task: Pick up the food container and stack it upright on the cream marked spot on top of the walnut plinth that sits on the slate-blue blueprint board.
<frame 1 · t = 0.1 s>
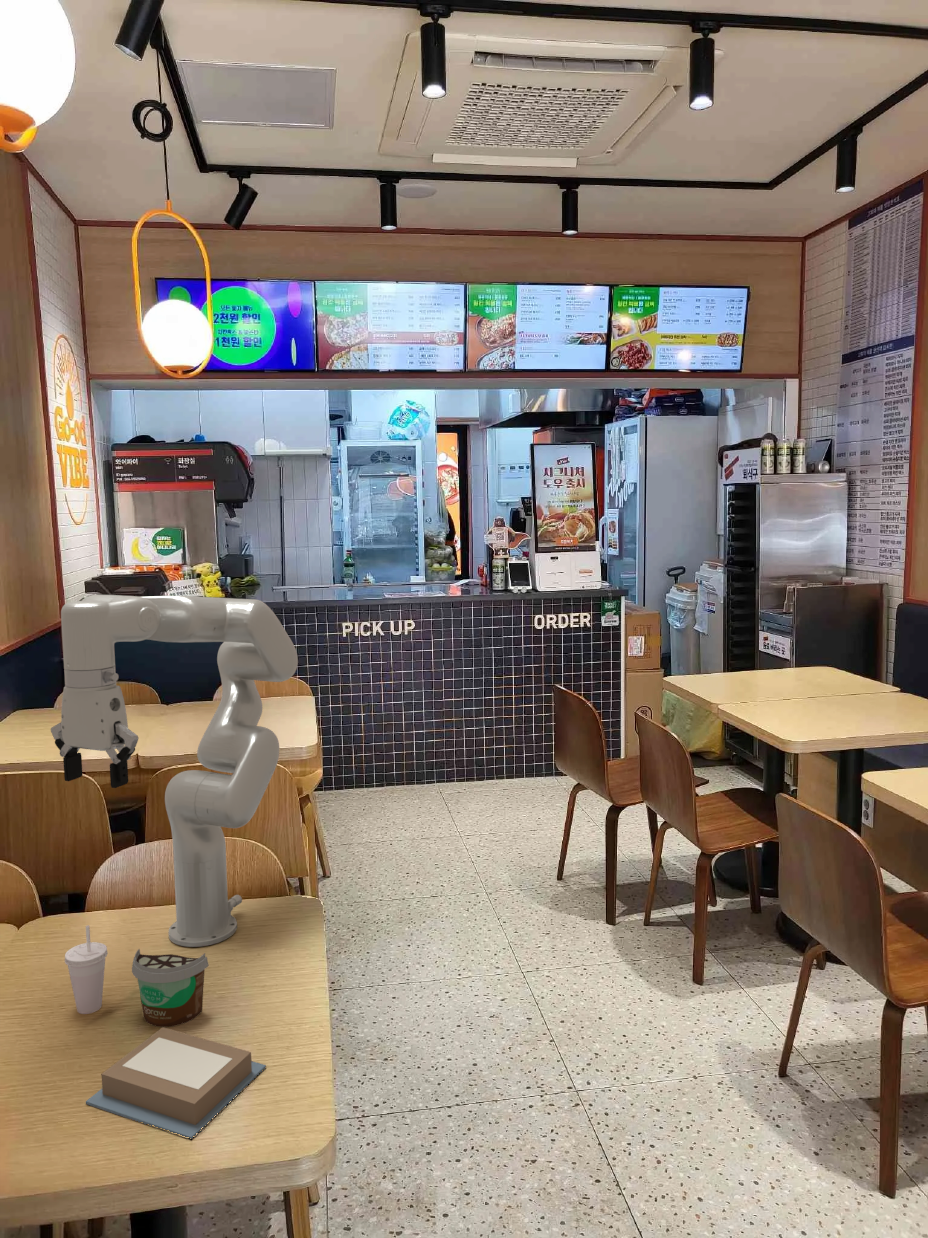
hand: (96, 782, 142), 37 cm above the table, tool pointing down, fingers open, 9 cm apart
smoothie: (89, 1008, 143), on the table
food container: (165, 1021, 140), on the table
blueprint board: (178, 1085, 124), on the table
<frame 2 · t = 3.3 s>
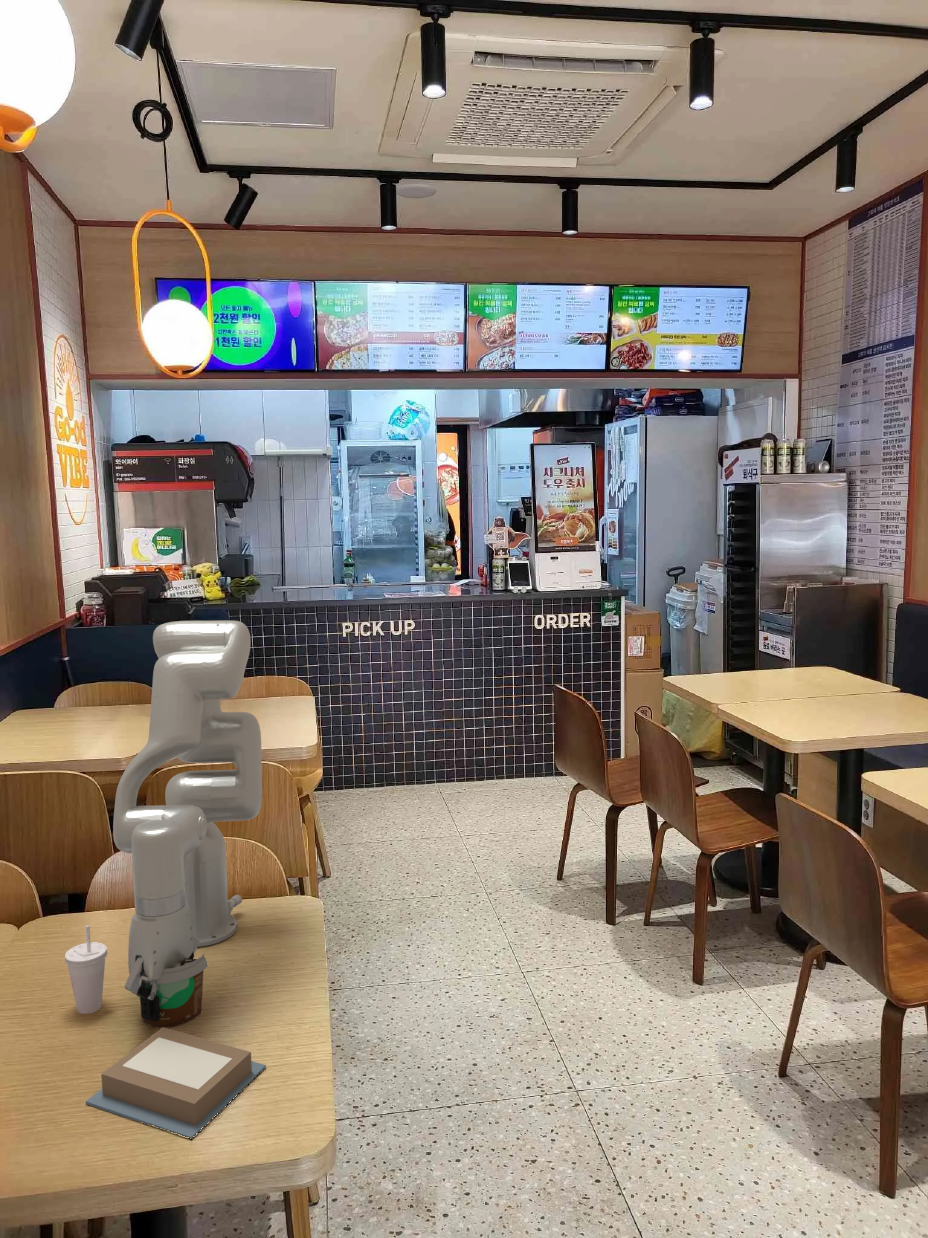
hand: (165, 1007, 140), 2 cm above the table, tool pointing down, fingers open, 6 cm apart
food container: (164, 1022, 139), on the table, touching gripper
everything else where it was.
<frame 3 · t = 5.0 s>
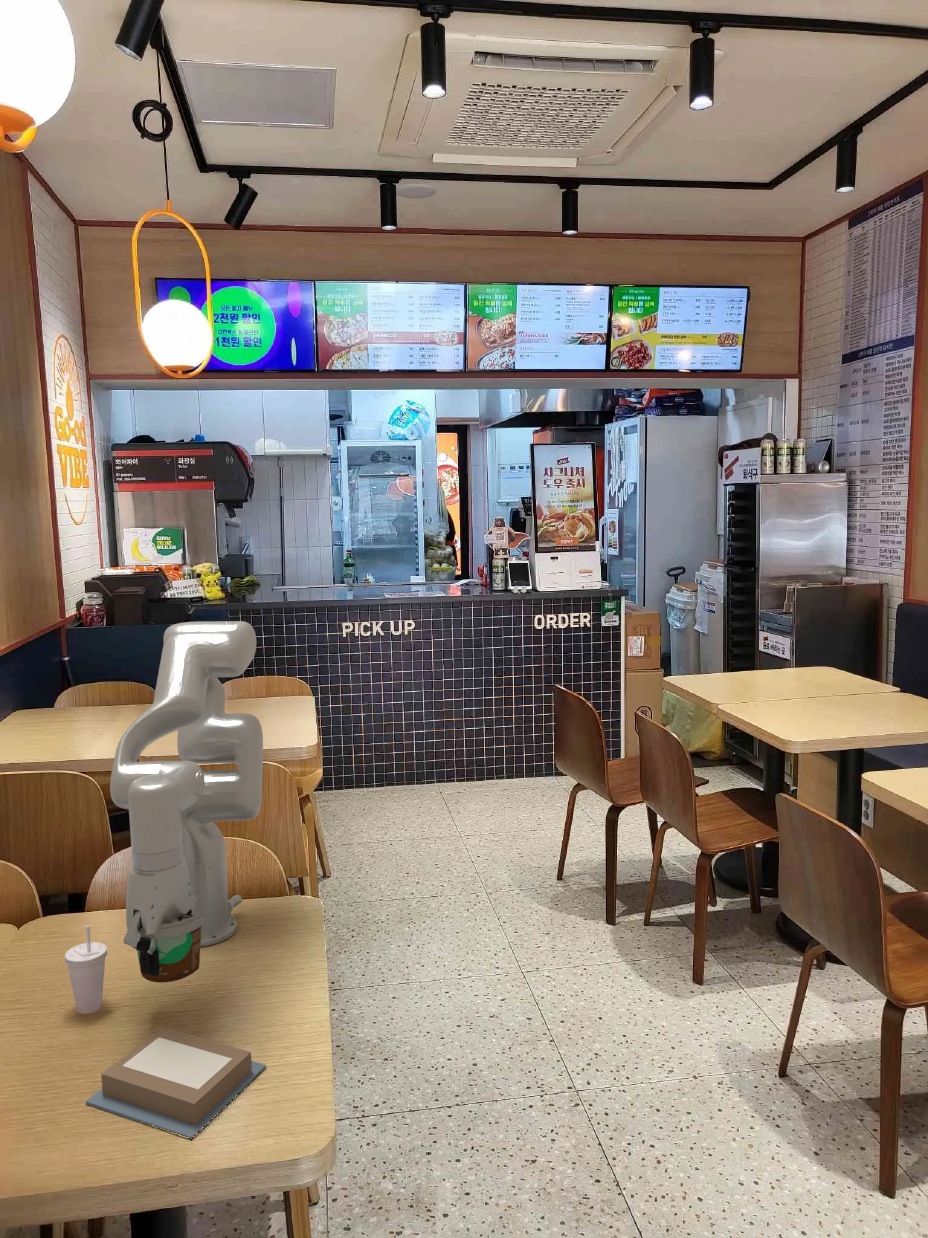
hand: (164, 962, 139), 9 cm above the table, tool pointing down, fingers closed on food container, 5 cm apart
food container: (162, 977, 139), point 7 cm above the table, touching gripper
everything else where it was.
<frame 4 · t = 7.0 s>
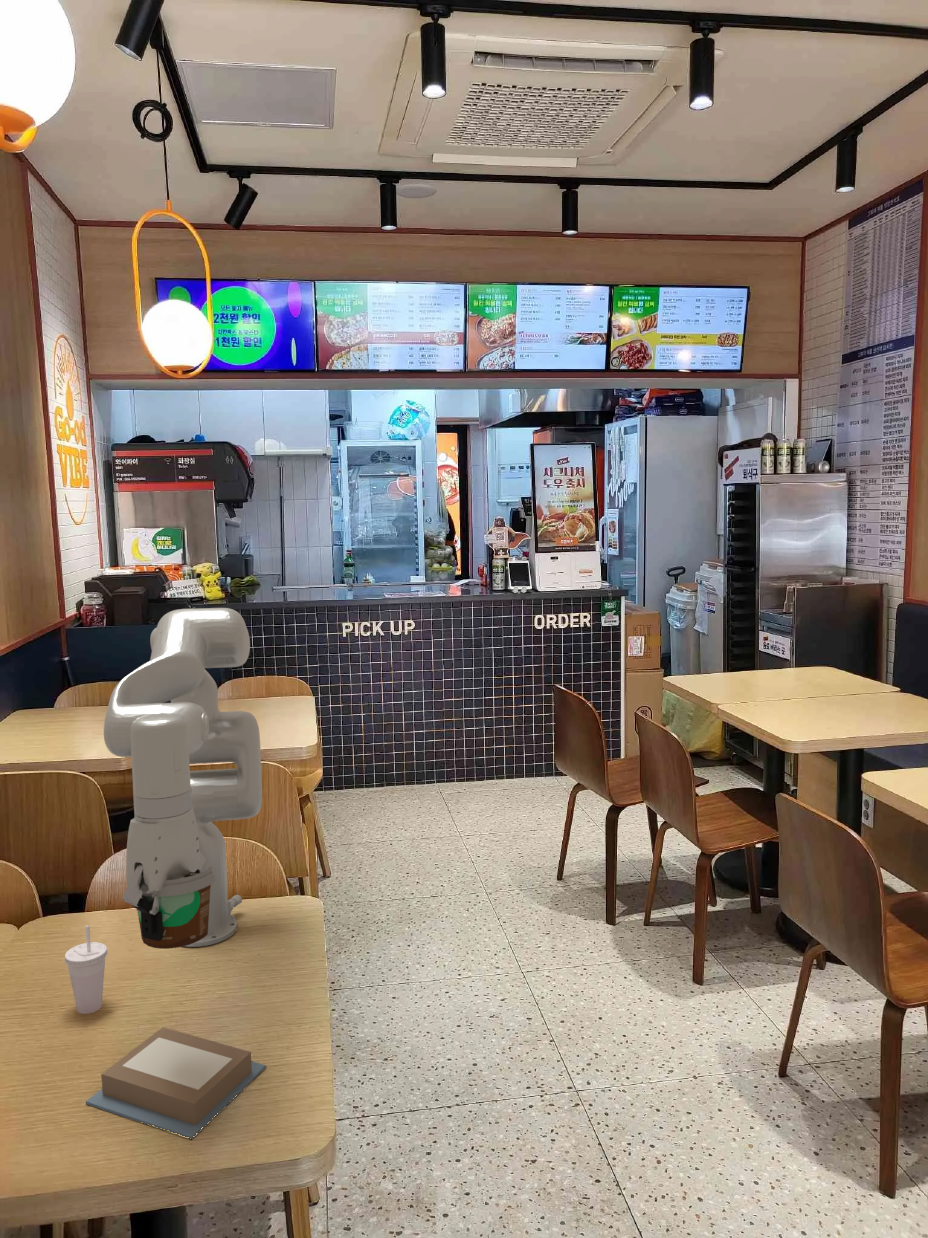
hand: (168, 927, 124), 22 cm above the table, tool pointing down, fingers closed on food container, 5 cm apart
food container: (166, 943, 123), point 20 cm above the table, touching gripper
everything else where it was.
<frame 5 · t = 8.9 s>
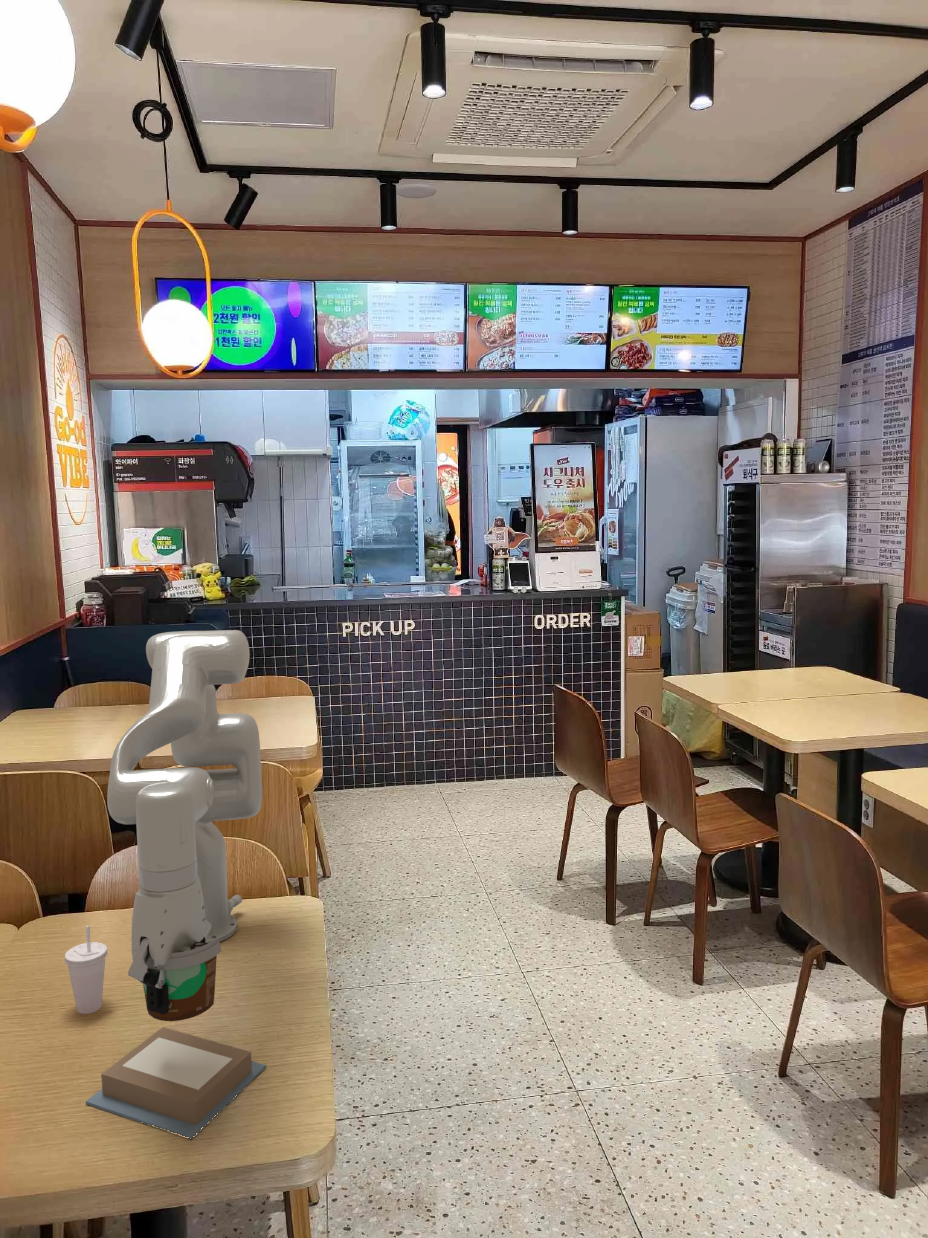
hand: (174, 998, 122), 13 cm above the table, tool pointing down, fingers closed on food container, 5 cm apart
food container: (172, 1015, 121), point 11 cm above the table, touching gripper
everything else where it was.
when the fingers open (7 cm above the table, at t = 10.5 s): food container drops 1 cm, resting on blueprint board.
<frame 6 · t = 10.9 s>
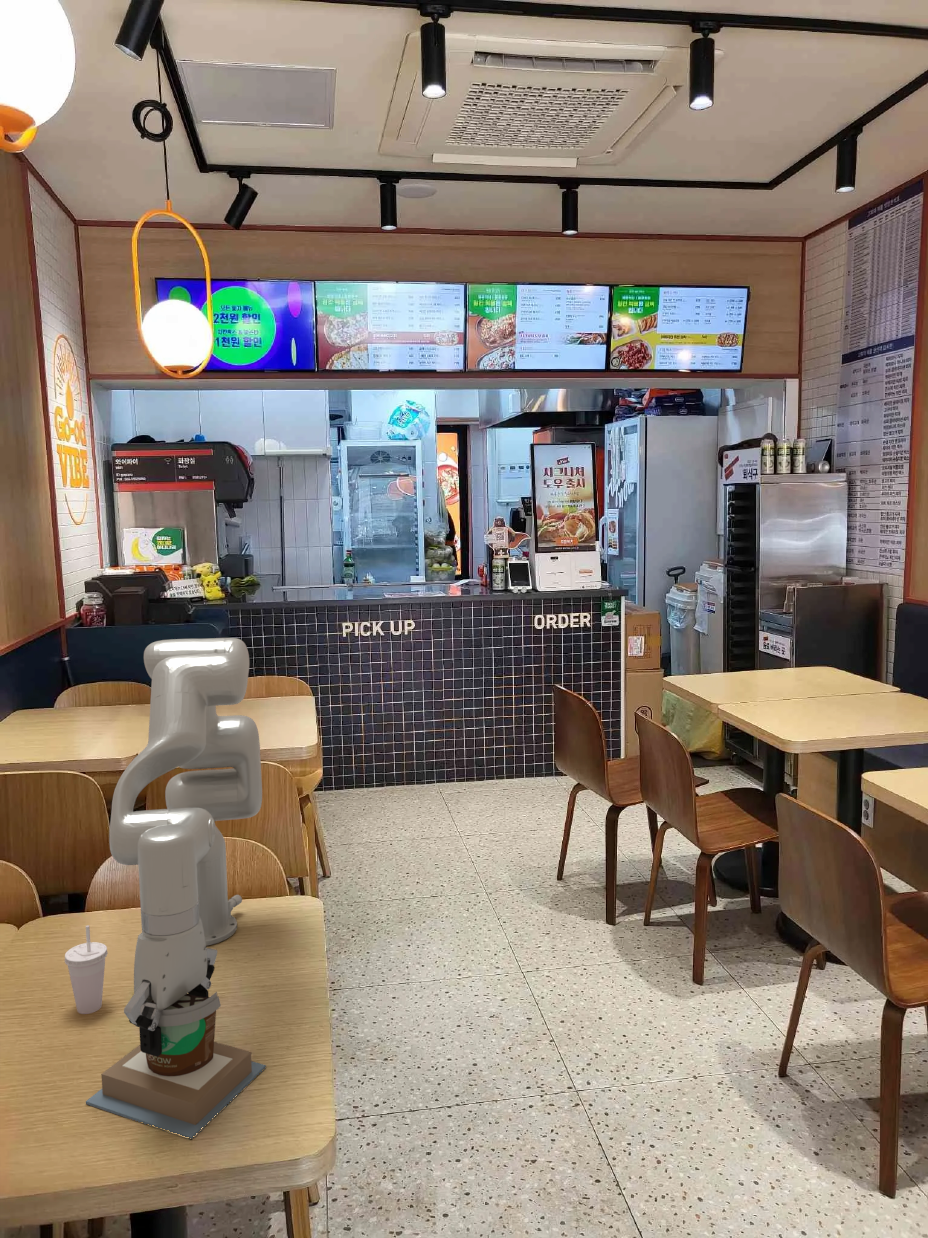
hand: (176, 1033, 123), 8 cm above the table, tool pointing down, fingers open, 9 cm apart
food container: (171, 1069, 122), point 3 cm above the table, touching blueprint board, gripper
everything else where it was.
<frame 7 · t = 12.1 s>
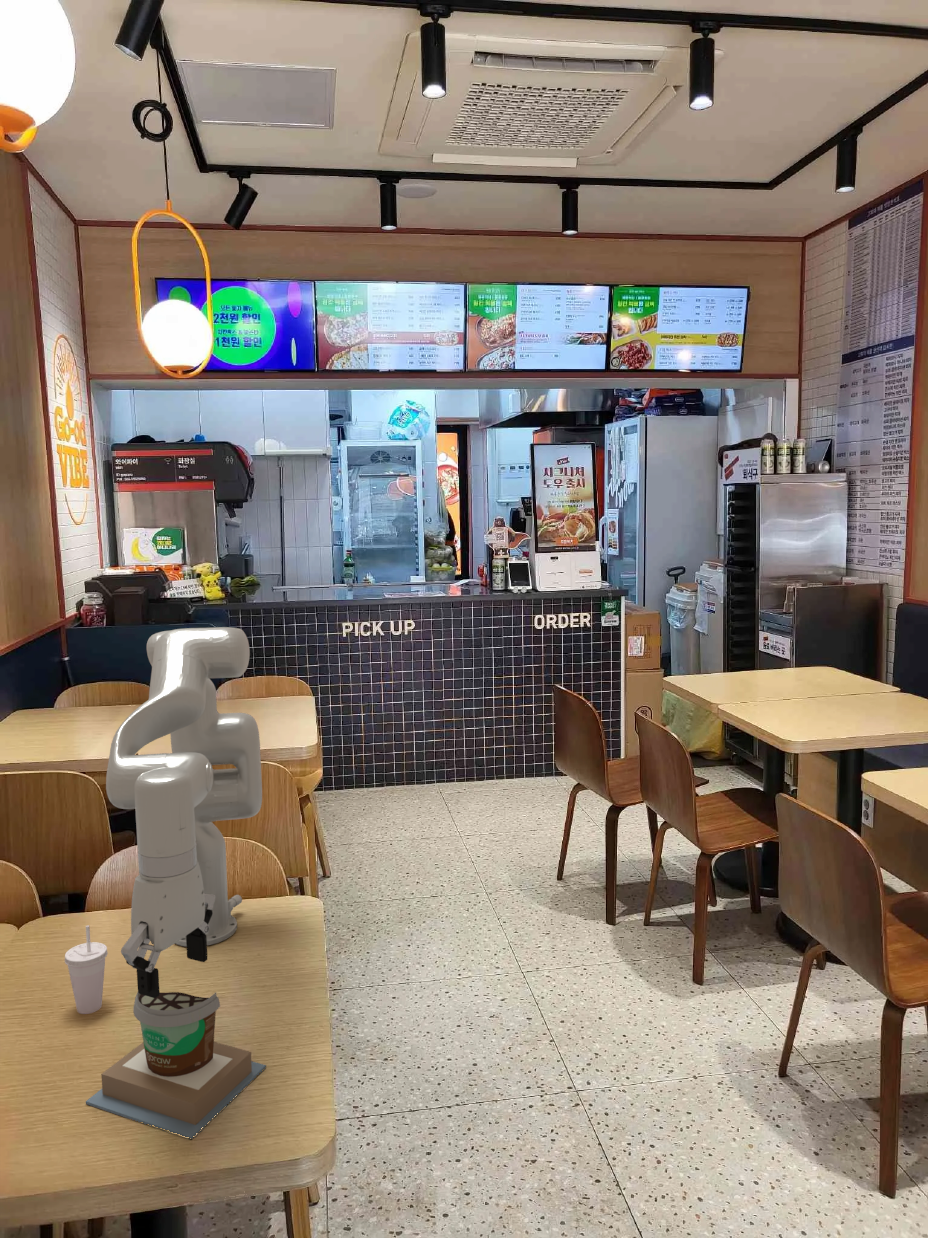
hand: (173, 976, 122), 16 cm above the table, tool pointing down, fingers open, 9 cm apart
food container: (171, 1069, 122), point 3 cm above the table, touching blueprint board
everything else where it was.
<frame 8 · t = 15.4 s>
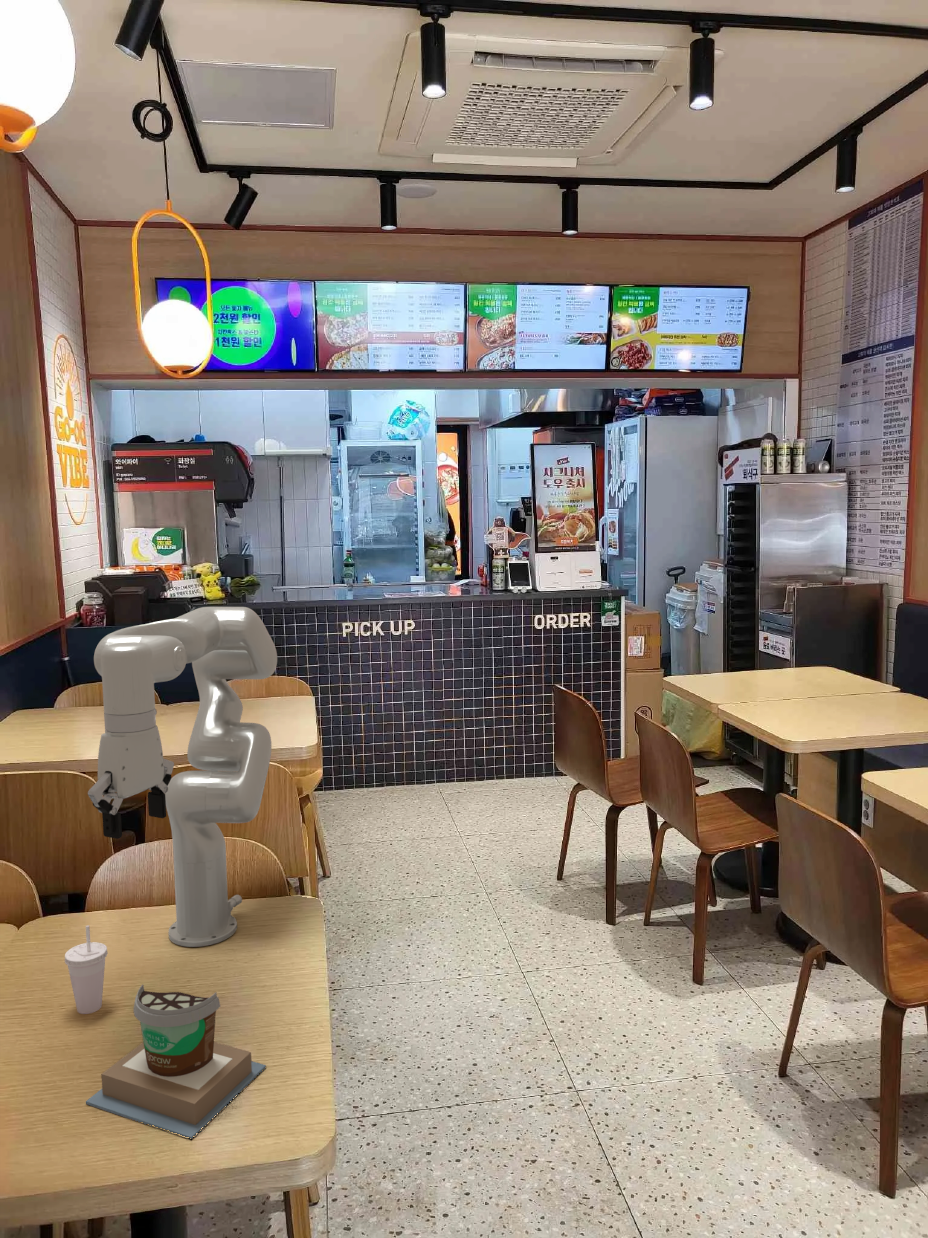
hand: (135, 826, 140), 30 cm above the table, tool pointing down, fingers open, 9 cm apart
nothing on the table moved.
at the end: food container inside the target area on the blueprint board (1.4 cm from its centre), point 3.3 cm above the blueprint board's base; food container tilted 0°; the gripper is holding nothing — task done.
